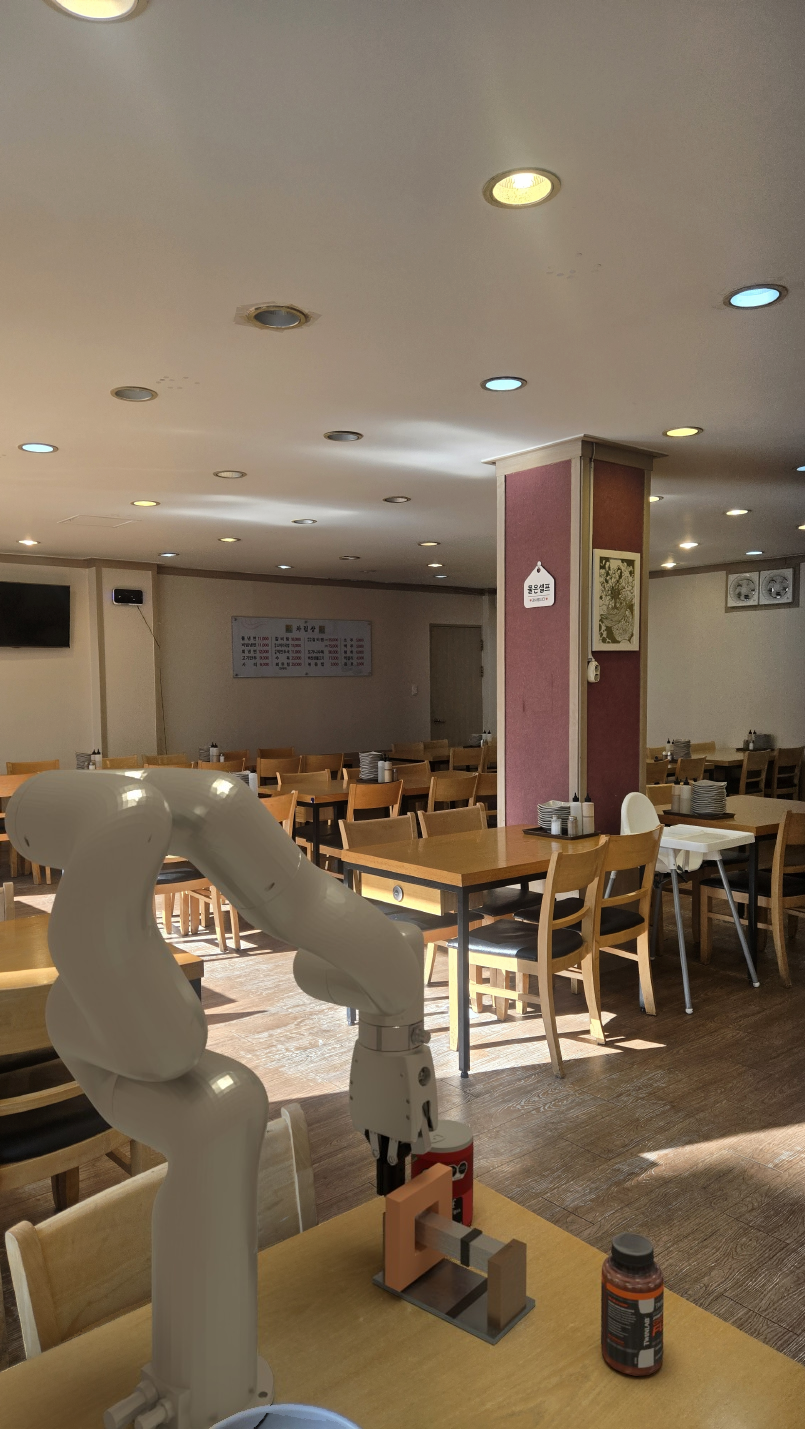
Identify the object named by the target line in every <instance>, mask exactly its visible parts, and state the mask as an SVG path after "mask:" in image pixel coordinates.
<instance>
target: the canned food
mask: <svg viewBox="0 0 805 1429" xmlns="http://www.w3.org/2000/svg"><path fill="white" fill-rule="evenodd" d="M429 1135H430V1141H431V1146H432V1148H431V1150H430V1151H428V1152H426V1153H425V1154H412V1153H411V1154H410V1180H412V1179H413V1178H415V1177H417V1176H418V1175H420V1174H421V1173H423V1172H424V1171H426V1170H428V1169H429V1168H431V1167H432V1166H434V1165H435V1164H437V1163H440V1164H443V1165H446V1166H448V1167H451V1168H452V1221H455V1222H457V1223H459V1224H462V1225H464V1226H466V1227H469V1228H470V1226H471V1223H472V1221H473V1217H474V1133H473V1130H472V1128H470V1127H469V1125H467V1124H465V1123H463V1122H460V1121H456V1120H452V1119H451V1120H450V1119H438V1127H437V1129H436V1130H435V1131H433V1132H429Z"/></svg>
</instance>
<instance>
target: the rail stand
mask: <svg viewBox="0 0 805 1429" xmlns="http://www.w3.org/2000/svg"><path fill="white" fill-rule="evenodd" d="M415 1241H416V1242H418V1243H421V1244H423V1245H425V1246H427V1247H429V1248H432V1249H434V1250H436V1251H438V1252H440V1253H443V1254H445V1255H447V1256H446V1257H449V1258H451V1259H454V1260H455V1261H458V1262H460V1263H459V1264H458V1263H456V1262H454V1261H452V1260H450V1259H448V1258H445V1257H444V1258H443V1259H441V1260H440V1261H439V1262H438V1263H436V1264H435V1265H434V1266H432V1267H431V1268H430V1269H428V1270H427V1271H426V1272H425V1273H423V1274H422V1275H421V1276H419V1277H418V1278H417V1279H416V1280H414V1281H413V1282H412V1283H410V1284H409V1285H408V1286H406V1287H405V1288H404V1289H403V1290H401V1291H400V1292H399V1291H397V1290H395V1289H393V1288H391V1287H389V1286H387V1285H385V1211H384V1212H383V1213H382V1270H380V1271H379V1272H378V1273H377V1274H376V1275H373V1277H371V1278H372V1284H374V1285H376V1286H377V1287H380V1288H381V1289H383V1290H385V1291H387V1292H389V1293H391V1294H393V1295H395V1296H397V1297H399V1298H401V1299H403V1300H405V1301H406V1302H408V1303H410V1304H412V1305H415V1306H417V1307H419V1308H420V1309H422V1310H424V1311H426V1312H429V1313H430V1314H432V1315H434V1316H436V1317H437V1318H440V1319H442V1320H444V1321H446V1322H448V1323H449V1324H451V1325H453V1326H456V1327H458V1328H459V1329H461V1330H463V1331H465V1332H467V1333H469V1334H471V1335H472V1336H475V1337H477V1338H479V1339H481V1340H483V1341H485V1342H487V1343H489V1344H491V1345H493V1346H495V1345H496V1344H497V1343H499V1341H500V1340H502V1338H503V1337H505V1335H507V1334H508V1332H510V1330H511V1329H512V1328H513V1327H515V1326H516V1325H517V1324H518V1323H519V1322H520V1321H521V1320H522V1319H523V1318H524V1317H525V1316H527V1314H529V1312H531V1310H533V1308H534V1307H536V1299H534V1298H532V1297H530V1296H528V1295H527V1243H526V1242H524V1241H522V1240H519V1239H516V1238H512V1239H511V1240H509V1242H507V1243H506V1242H504V1241H502V1240H499V1239H497V1238H494V1237H492V1236H490V1235H487V1234H485V1233H483V1230H481V1229H478V1228H477V1227H474V1228H472V1227H470V1226H469V1227H466V1226H464V1225H462V1224H459V1223H457V1222H455V1221H452V1220H450V1219H448V1218H445V1217H443V1216H441V1215H438V1214H436V1213H434V1212H431V1211H429V1210H427V1209H425V1210H423V1211H422V1212H420V1213H419V1214H417V1215H416V1216H415ZM469 1267H472V1268H474V1269H475V1270H478V1271H480V1272H482V1273H484V1274H487V1277H486V1276H485V1275H482V1274H480V1273H477V1271H476V1272H475V1271H473V1270H472V1269H469Z"/></svg>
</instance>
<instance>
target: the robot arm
mask: <svg viewBox="0 0 805 1429" xmlns="http://www.w3.org/2000/svg"><path fill="white" fill-rule="evenodd" d="M4 829H5V831H6V835H7V839H8V840H9V842H10V844H11V846H12V847H13V848H14V850H15V851H16V852H17V853H18V854H19V855H20V856H22V857H23V858H25V859H26V860H27V861H30V862H31V863H34V864H36V865H39V866H43V867H46V868H52V869H57V870H62V871H63V873H62V874H61V876H60V879H59V883H58V885H57V888H56V892H55V896H54V900H53V902H52V907H51V911H50V914H49V919H48V924H47V933H46V935H47V937H46V938H47V946H48V951H49V956H50V957H51V961H52V963H53V965H54V968H55V970H56V972H57V973H58V975H57V976H56V978H55V980H54V981H53V984H52V985H51V987H50V989H49V992H48V994H47V997H46V1002H45V1008H44V1009H45V1012H44V1015H45V1018H44V1019H45V1025H46V1026H45V1027H46V1030H47V1035H48V1038H49V1041H50V1042H51V1045H52V1046H53V1047H52V1048H54V1050H55V1052H56V1054H57V1055H58V1056H59V1058H60V1059H61V1061H62V1062H63V1064H64V1066H65V1067H66V1068H67V1070H68V1071H69V1072H70V1074H71V1076H72V1077H73V1078H74V1080H75V1081H76V1082H77V1084H78V1086H79V1087H80V1088H81V1091H83V1093H84V1094H85V1095H86V1097H87V1098H88V1100H89V1101H90V1102H91V1104H92V1106H93V1107H94V1108H95V1110H96V1111H97V1112H98V1113H99V1116H101V1117H102V1118H103V1119H104V1121H105V1122H106V1123H107V1124H109V1125H110V1126H111V1127H112V1128H113V1129H114V1130H115V1131H117V1132H119V1133H121V1134H122V1135H124V1136H126V1137H129V1138H131V1139H132V1140H134V1141H136V1142H139V1143H140V1144H143V1145H145V1146H147V1147H149V1148H151V1149H152V1150H153V1151H155V1152H157V1153H159V1154H161V1155H163V1156H164V1157H165V1159H166V1161H167V1171H166V1174H165V1176H164V1179H163V1181H162V1183H161V1185H160V1187H159V1188H158V1191H157V1192H156V1194H155V1197H154V1201H153V1205H152V1211H151V1212H152V1213H151V1226H150V1227H151V1232H150V1233H151V1235H150V1236H151V1360H150V1361H149V1362H148V1363H146V1364H144V1365H143V1366H142V1367H141V1370H140V1372H141V1373H140V1374H141V1376H140V1377H141V1378H140V1381H139V1383H138V1384H137V1385H135V1387H134V1388H133V1390H132V1394H130V1395H129V1396H127V1397H126V1398H122V1399H121V1400H120V1401H118V1402H116V1403H115V1404H113V1405H112V1406H110V1407H109V1408H108V1409H106V1410H105V1411H104V1412H103V1415H102V1418H103V1419H102V1420H103V1426H104V1428H105V1429H124V1428H126V1427H127V1426H129V1425H130V1424H131V1423H132V1422H133V1421H134V1425H133V1426H134V1429H209V1428H210V1427H212V1426H213V1425H214V1424H216V1423H218V1422H220V1421H222V1420H224V1419H226V1418H228V1417H230V1416H232V1415H234V1414H236V1413H238V1412H241V1411H245V1410H247V1409H251V1408H255V1407H259V1406H265V1405H268V1404H272V1405H273V1402H274V1401H273V1400H274V1399H275V1398H274V1397H275V1375H274V1372H273V1369H272V1368H271V1366H270V1364H269V1363H268V1361H267V1360H266V1358H264V1357H263V1356H262V1355H261V1354H260V1353H258V1306H259V1305H258V1303H259V1302H258V1298H259V1297H258V1294H259V1293H258V1283H259V1282H258V1276H259V1275H258V1272H259V1271H258V1270H259V1267H258V1265H259V1264H258V1263H259V1260H258V1258H259V1257H258V1256H259V1255H258V1254H259V1251H258V1250H259V1249H258V1248H259V1247H258V1245H259V1244H258V1239H259V1236H258V1233H259V1232H258V1231H259V1225H258V1213H259V1212H258V1210H259V1209H258V1207H259V1206H258V1205H259V1204H258V1202H259V1201H258V1200H259V1199H258V1198H259V1181H260V1180H259V1179H260V1169H261V1160H262V1156H263V1149H264V1142H265V1140H266V1134H267V1129H268V1124H269V1119H270V1118H269V1117H270V1116H269V1115H270V1102H269V1101H270V1100H269V1096H268V1092H267V1089H266V1087H265V1085H264V1083H263V1081H262V1080H261V1079H260V1077H259V1076H258V1075H257V1073H255V1072H254V1071H253V1070H252V1069H251V1068H250V1067H248V1066H247V1065H245V1064H244V1063H242V1062H241V1061H239V1060H237V1059H235V1058H233V1057H230V1056H227V1055H225V1054H223V1053H219V1052H216V1051H213V1050H211V1049H209V1048H206V1047H207V1043H208V1038H209V1027H208V1018H207V1014H206V1011H205V1008H204V1007H203V1006H204V1005H203V1004H202V1002H201V1000H200V998H199V996H198V994H197V993H196V991H195V989H194V988H193V986H192V983H191V982H190V981H189V979H188V978H187V977H186V974H185V972H184V971H183V969H182V967H181V966H180V964H179V962H178V961H177V959H176V957H175V955H174V953H173V952H172V951H171V948H170V947H169V945H168V944H167V942H166V940H165V938H164V936H163V933H162V932H161V930H160V928H159V925H158V924H157V920H156V918H155V914H154V913H155V912H154V908H153V906H154V896H155V895H154V894H155V888H156V885H157V882H158V880H159V876H160V873H161V870H162V867H163V865H164V863H165V861H166V858H167V856H169V857H171V856H172V857H178V858H182V859H185V860H187V861H189V862H190V863H191V864H192V865H193V866H194V867H195V868H196V869H197V870H198V871H199V872H200V873H201V874H202V876H204V878H206V879H207V880H208V882H210V883H211V884H212V885H213V887H214V888H215V889H216V890H217V891H218V892H219V893H220V894H221V895H222V896H223V897H224V898H225V899H226V901H228V903H229V904H230V905H231V906H232V907H233V908H234V909H235V911H236V912H238V914H239V915H240V916H241V917H242V919H244V920H245V921H246V922H247V923H248V924H249V925H250V926H252V927H254V928H256V929H257V930H259V931H261V932H263V933H265V934H266V935H269V936H270V937H272V938H274V939H276V940H278V941H281V942H282V943H283V942H284V943H285V944H287V945H290V946H293V947H295V948H297V951H296V952H295V955H294V959H293V963H292V974H293V978H294V982H295V983H296V985H297V986H298V988H299V989H300V990H301V991H302V992H303V993H304V994H306V995H307V996H309V997H311V998H313V999H315V1000H318V1001H321V1002H325V1003H329V1004H333V1005H337V1006H341V1007H345V1008H346V1007H347V1008H350V1009H354V1010H357V1011H358V1014H357V1016H358V1020H357V1021H358V1024H357V1025H358V1026H357V1027H358V1029H357V1030H358V1033H357V1034H358V1038H357V1039H356V1040H355V1042H354V1045H353V1046H354V1047H353V1051H352V1057H351V1064H350V1071H349V1080H348V1081H349V1084H348V1111H349V1112H348V1114H349V1117H350V1119H351V1121H352V1128H353V1129H354V1130H355V1131H357V1132H358V1133H360V1134H361V1135H363V1136H365V1139H366V1141H367V1142H368V1144H369V1145H370V1151H371V1155H372V1157H373V1159H375V1162H376V1166H375V1167H376V1168H375V1170H376V1178H375V1179H376V1180H375V1181H376V1195H377V1196H380V1197H384V1198H385V1196H387V1195H388V1194H390V1193H391V1192H393V1191H394V1190H396V1189H398V1188H399V1187H401V1186H402V1185H404V1184H406V1158H407V1157H409V1156H411V1153H412V1154H425V1153H426V1152H428V1151H430V1150H431V1148H432V1146H431V1141H430V1135H429V1132H433V1131H435V1130H436V1129H437V1127H438V1120H439V1106H438V1105H439V1102H438V1089H437V1078H436V1071H435V1070H436V1069H435V1065H434V1060H433V1054H432V1050H431V1047H430V1046H429V1045H428V1044H429V1043H430V1042H431V1038H432V1034H431V1032H430V1031H428V1030H426V1029H425V937H424V933H423V931H422V929H421V928H420V927H419V926H418V925H416V924H415V923H411V922H409V921H404V920H391V919H390V918H389V917H388V916H387V915H386V914H385V913H384V912H383V911H382V910H381V909H379V908H378V907H377V905H375V904H373V903H372V902H371V901H369V900H367V899H366V898H365V897H363V896H361V895H360V894H358V893H357V892H356V891H355V890H352V889H351V888H350V887H348V886H347V885H346V884H344V883H343V882H341V881H340V880H339V879H337V878H336V877H335V876H333V875H332V874H330V873H328V872H327V871H325V870H323V869H322V868H320V867H319V866H317V865H316V864H315V863H313V862H312V861H311V860H310V859H309V858H308V856H307V855H306V854H305V853H304V852H303V851H302V849H301V848H300V847H299V845H298V844H297V843H296V842H295V841H294V840H293V838H292V837H291V836H290V834H289V833H288V832H287V831H286V830H285V828H284V827H283V826H282V824H280V822H279V821H278V820H277V819H276V817H275V815H274V814H272V812H271V811H270V810H269V808H268V807H267V806H266V805H265V804H264V803H263V801H262V800H261V799H260V798H259V796H258V795H257V794H256V793H255V791H253V789H252V788H251V787H250V786H249V785H248V784H247V783H246V782H245V781H244V780H242V779H241V778H240V777H238V776H237V775H234V774H232V773H229V772H227V771H223V770H222V771H221V770H216V769H205V768H204V769H203V768H202V769H201V768H187V767H175V766H174V767H172V766H170V767H169V766H168V767H167V766H165V767H163V766H160V767H142V768H141V767H140V768H139V767H138V768H118V769H117V768H113V769H111V768H110V769H105V768H104V769H103V768H102V769H101V768H100V769H98V768H97V769H96V768H95V769H91V768H90V769H50V770H45V771H43V772H39V773H36V774H34V775H33V776H30V777H28V778H27V779H26V780H24V781H23V782H22V783H20V785H19V786H18V787H17V788H16V789H15V790H14V791H13V793H12V795H11V797H10V798H9V800H8V802H7V805H6V808H5V812H4Z"/></svg>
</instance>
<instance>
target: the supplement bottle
mask: <svg viewBox="0 0 805 1429" xmlns="http://www.w3.org/2000/svg"><path fill="white" fill-rule="evenodd" d="M610 1252H611V1254H610V1255H608V1256H607V1257H606V1258H605V1259H604V1260H603V1263H602V1266H601V1275H600V1276H601V1280H600V1281H601V1284H600V1285H601V1286H600V1288H601V1290H600V1291H601V1294H600V1304H601V1305H600V1309H601V1311H600V1314H601V1315H600V1321H601V1322H600V1345H601V1346H600V1348H601V1353H602V1356H603V1358H604V1360H605V1361H606V1362H607V1364H608V1365H609V1366H610V1367H612V1368H613V1369H615V1370H616V1371H619V1372H621V1373H622V1374H625V1375H629V1376H630V1375H631V1376H639V1377H641V1376H649V1375H651V1374H654V1373H655V1372H656V1371H658V1370H659V1369H660V1367H661V1365H662V1363H663V1358H664V1306H665V1304H664V1297H665V1296H664V1294H665V1292H664V1287H665V1286H664V1280H665V1279H664V1273H663V1271H662V1267H661V1266H660V1265H659V1263H657V1261H655V1260H654V1259H655V1255H654V1244H653V1242H652V1241H651V1240H650V1239H649V1238H648V1237H646V1236H644V1235H642V1234H639V1233H634V1232H620V1233H618V1234H616V1235H614V1236H613V1238H612V1240H611V1249H610Z"/></svg>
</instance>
